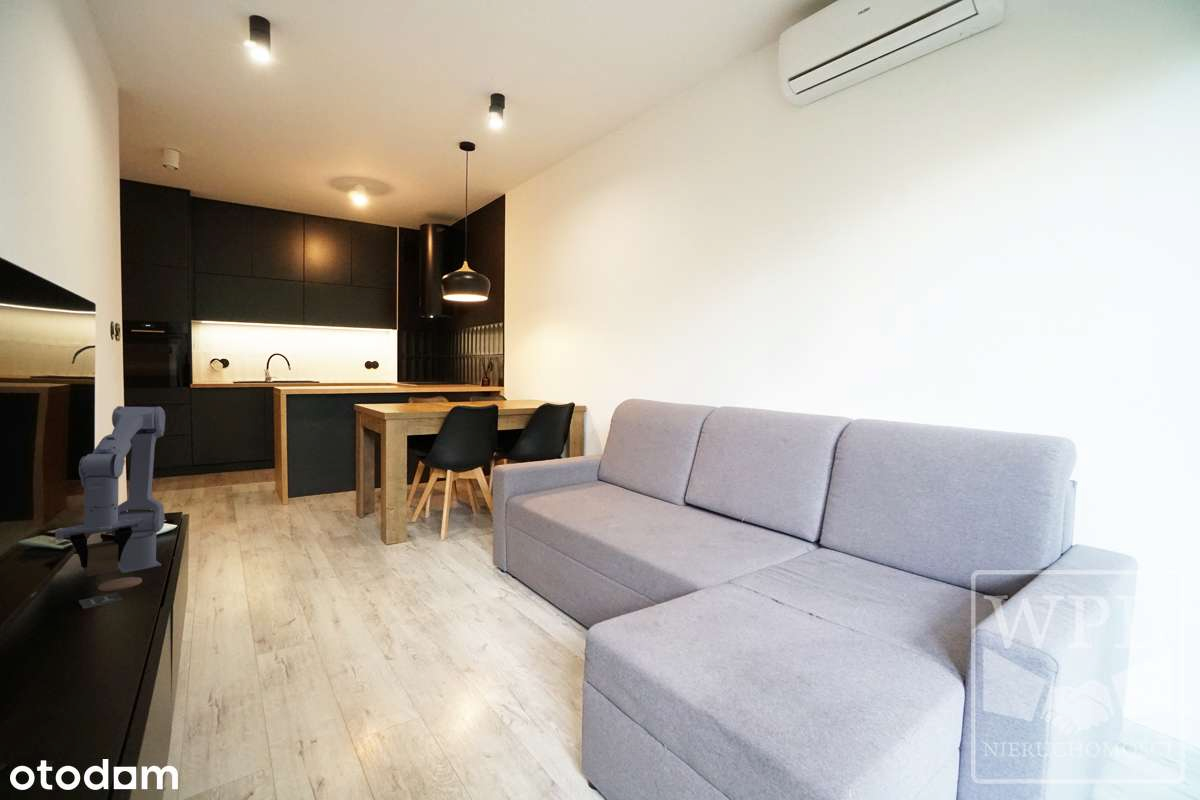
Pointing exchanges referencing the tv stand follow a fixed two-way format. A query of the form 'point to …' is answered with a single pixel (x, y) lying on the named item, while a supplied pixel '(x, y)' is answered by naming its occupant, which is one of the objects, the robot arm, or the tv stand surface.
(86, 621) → the tv stand surface
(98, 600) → the board
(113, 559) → the walnut block
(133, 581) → the coaster
